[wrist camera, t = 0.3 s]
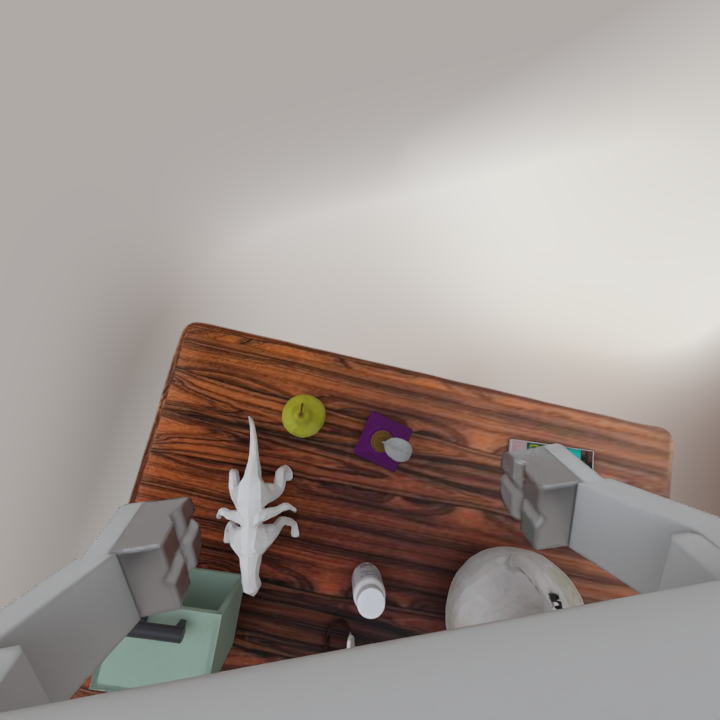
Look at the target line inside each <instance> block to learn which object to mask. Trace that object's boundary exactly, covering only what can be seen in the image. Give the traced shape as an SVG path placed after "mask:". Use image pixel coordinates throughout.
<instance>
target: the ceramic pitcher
mask: <svg viewBox="0 0 720 720" xmlns="http://www.w3.org/2000/svg"><path fill="white" fill-rule="evenodd" d="M580 605H584V602H583V600H582V598H581V596H580V594H579V592H578V591H577V589H576V587H575V586H574V584H573V583H572V581H571V580H570V579H569V578H568V576H567V575H566V574H565V573H564V572H563V571H562V570H560V569H559V568H558V567H557V566H556V565H555V564H553V563H552V562H551V561H549V560H548V559H547V558H545V557H544V556H543V555H540V554H538V553H536V552H533V551H529V550H525V549H521V548H515V547H503V546H501V547H494V548H489V549H486V550H483V551H481V552H479V553H477V554H475V555H474V556H472V557H470V558H469V559H468V560H467V561H466V562H465V563H464V565H463V566H462V567H461V568H460V569H459V570H458V571H457V573H456V575H455V577H454V578H453V580H452V582H451V585H450V588H449V593H448V597H447V602H446V630H450V629H455V628H461V627H466V626H471V625H477V624H482V623H488V622H493V621H498V620H504V619H509V618H515V617H520V616H526V615H531V614H536V613H542V612H547V611H553V610H558V609H563V608H569V607H574V606H580Z"/></svg>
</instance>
